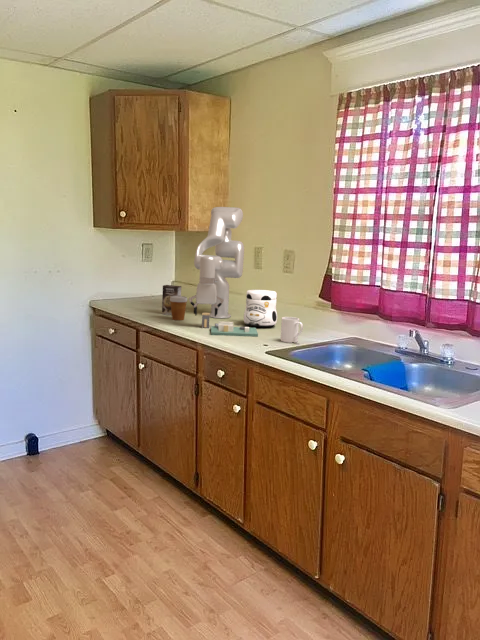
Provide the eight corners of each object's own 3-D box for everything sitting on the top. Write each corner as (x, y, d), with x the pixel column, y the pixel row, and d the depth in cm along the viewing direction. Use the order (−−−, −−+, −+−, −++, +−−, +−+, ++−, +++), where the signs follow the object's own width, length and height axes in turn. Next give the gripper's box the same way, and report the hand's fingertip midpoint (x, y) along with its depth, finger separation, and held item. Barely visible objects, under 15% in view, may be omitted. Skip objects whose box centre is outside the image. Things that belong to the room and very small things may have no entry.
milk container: (247, 329, 281) (248, 293, 278) (240, 322, 298) (241, 289, 295) (280, 329, 285) (282, 294, 281) (272, 323, 301) (273, 289, 298)
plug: (202, 326, 284) (202, 312, 282) (209, 326, 284) (209, 312, 282) (201, 328, 278) (202, 314, 277) (208, 328, 278) (209, 314, 277)
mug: (276, 340, 258) (278, 317, 256) (290, 338, 262) (291, 316, 261) (294, 345, 248) (295, 321, 246) (307, 343, 253) (309, 320, 251)
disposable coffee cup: (171, 321, 293) (172, 298, 291) (167, 318, 302) (167, 295, 300) (189, 320, 297) (190, 298, 295) (184, 317, 305) (184, 295, 303)
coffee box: (161, 314, 313) (162, 285, 310) (165, 312, 319) (166, 284, 316) (176, 315, 311) (177, 286, 308) (180, 314, 317) (181, 285, 314)
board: (211, 328, 278) (211, 320, 278) (255, 330, 279) (256, 321, 279) (210, 334, 263) (211, 326, 262) (257, 336, 263) (258, 327, 263)
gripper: (224, 281, 281) (222, 315, 283) (189, 279, 280) (188, 313, 283) (224, 282, 274) (223, 317, 276) (189, 281, 273) (187, 315, 275)
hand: (205, 315), depth 279 cm, fingers open, 9 cm apart
